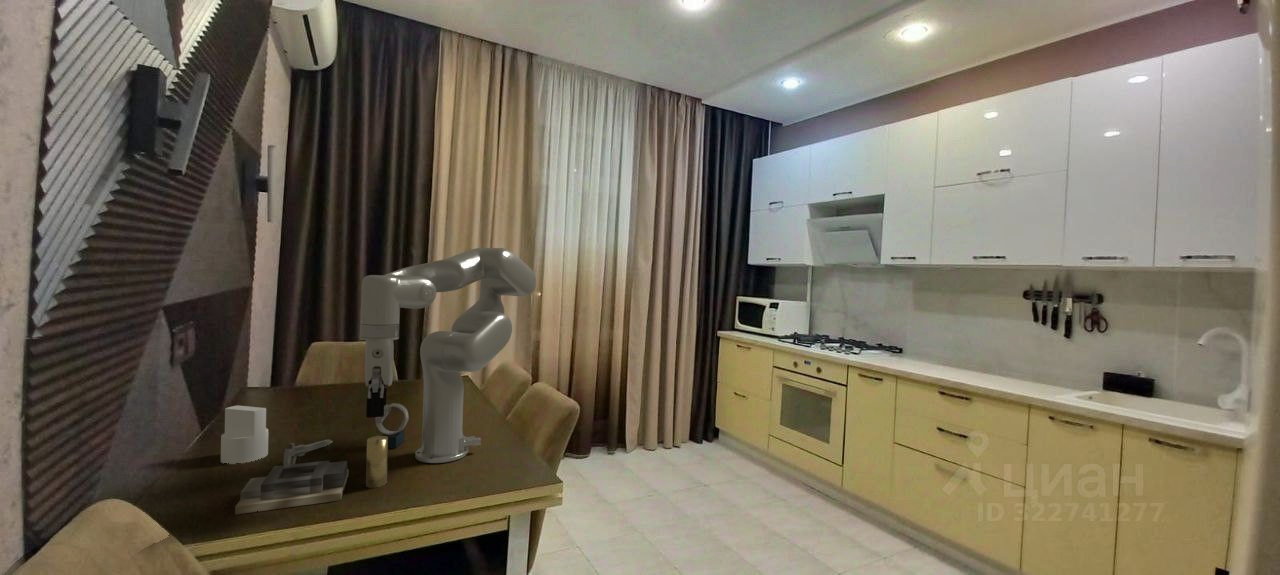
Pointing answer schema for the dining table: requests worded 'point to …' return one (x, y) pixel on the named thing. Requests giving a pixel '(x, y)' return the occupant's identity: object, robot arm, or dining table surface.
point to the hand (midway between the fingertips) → (376, 411)
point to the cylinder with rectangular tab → (244, 435)
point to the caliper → (301, 450)
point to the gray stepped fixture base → (294, 486)
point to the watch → (393, 435)
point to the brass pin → (376, 461)
